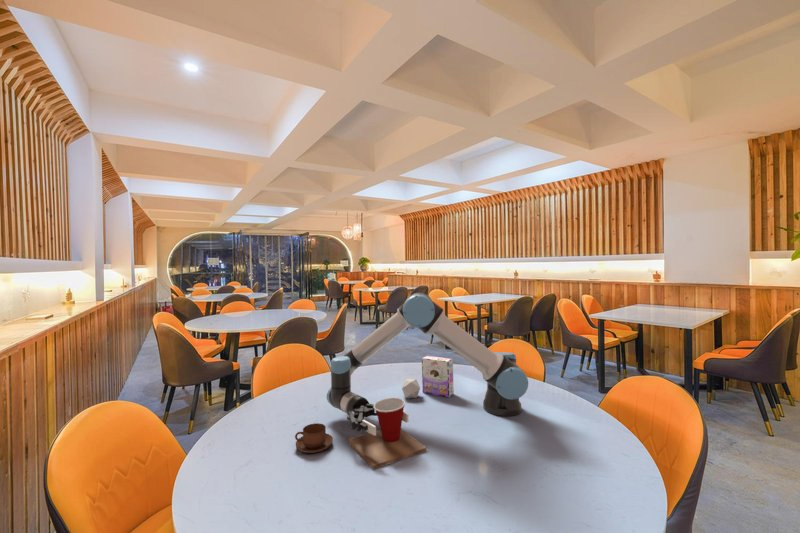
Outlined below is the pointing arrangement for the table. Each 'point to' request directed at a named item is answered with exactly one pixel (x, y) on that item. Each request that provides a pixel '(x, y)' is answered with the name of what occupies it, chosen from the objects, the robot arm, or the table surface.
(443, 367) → the candy box
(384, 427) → the plastic cup
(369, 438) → the walnut board
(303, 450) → the cup and saucer
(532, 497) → the table surface
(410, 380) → the die
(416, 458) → the table surface
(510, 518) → the table surface
